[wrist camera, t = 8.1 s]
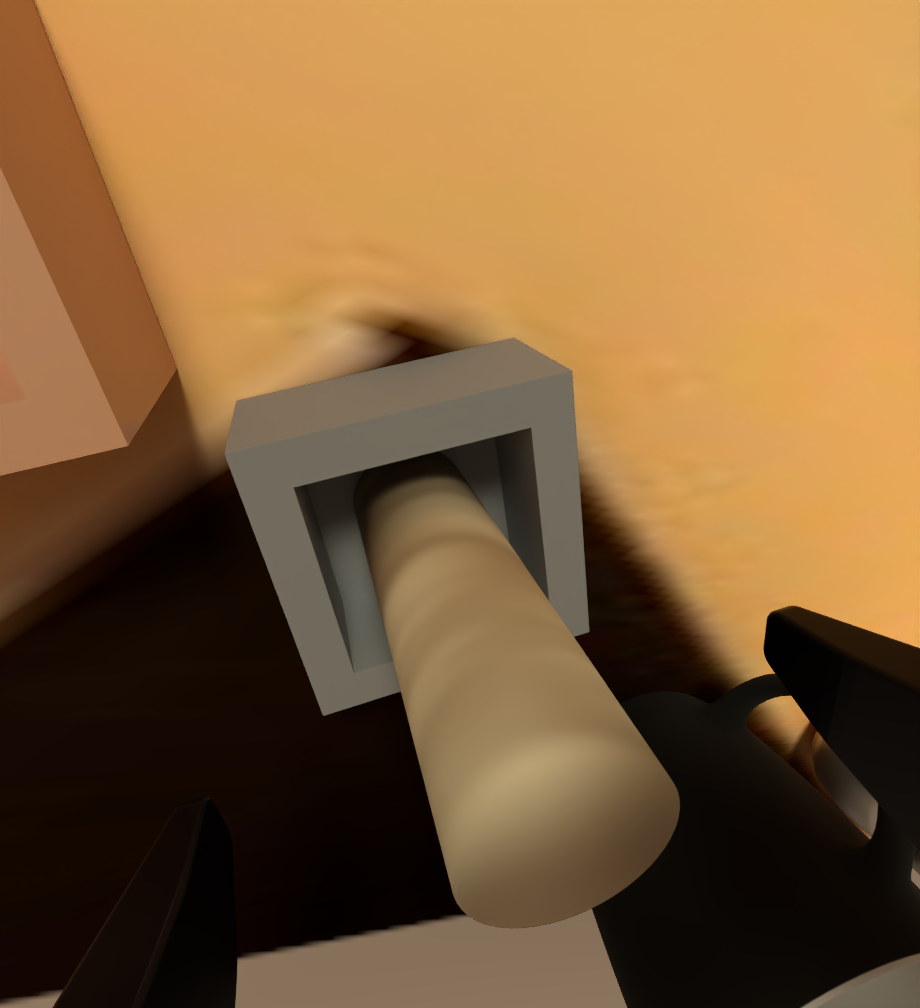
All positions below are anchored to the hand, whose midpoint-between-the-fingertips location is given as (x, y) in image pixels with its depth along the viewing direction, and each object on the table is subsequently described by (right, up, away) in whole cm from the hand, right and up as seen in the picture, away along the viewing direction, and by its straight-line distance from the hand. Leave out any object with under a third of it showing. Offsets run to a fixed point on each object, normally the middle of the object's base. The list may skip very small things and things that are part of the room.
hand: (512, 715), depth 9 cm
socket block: (-2, +4, +7) cm, 8 cm away
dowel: (-2, +3, +7) cm, 8 cm away
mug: (+7, -5, +15) cm, 17 cm away
